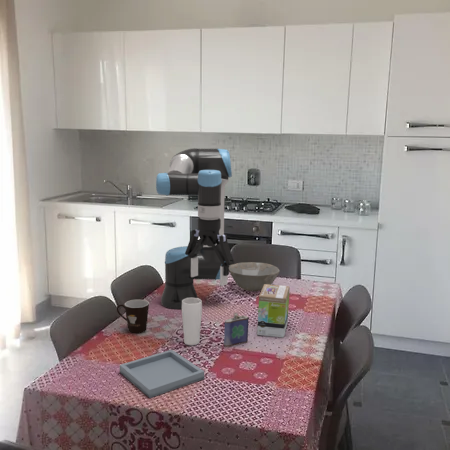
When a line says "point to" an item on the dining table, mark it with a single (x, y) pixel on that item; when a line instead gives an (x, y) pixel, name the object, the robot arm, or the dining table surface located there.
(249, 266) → the ceramic bowl
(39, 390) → the dining table surface
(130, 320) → the coffee mug
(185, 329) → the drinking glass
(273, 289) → the tea box
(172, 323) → the dining table surface
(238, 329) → the flask
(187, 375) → the tray
